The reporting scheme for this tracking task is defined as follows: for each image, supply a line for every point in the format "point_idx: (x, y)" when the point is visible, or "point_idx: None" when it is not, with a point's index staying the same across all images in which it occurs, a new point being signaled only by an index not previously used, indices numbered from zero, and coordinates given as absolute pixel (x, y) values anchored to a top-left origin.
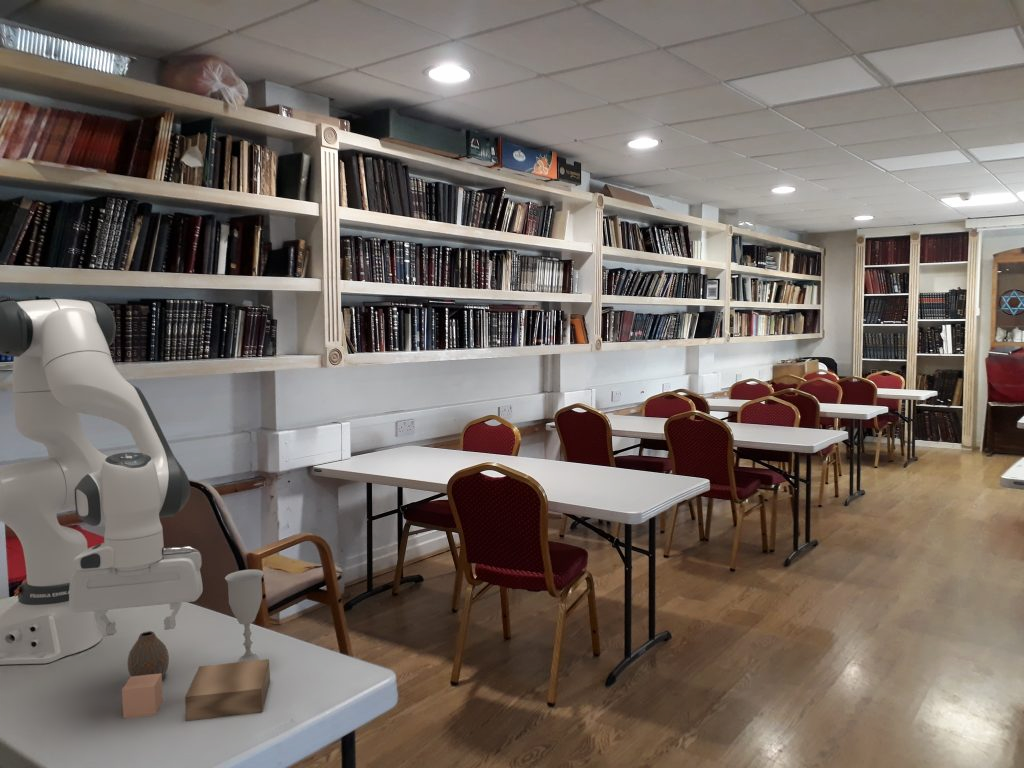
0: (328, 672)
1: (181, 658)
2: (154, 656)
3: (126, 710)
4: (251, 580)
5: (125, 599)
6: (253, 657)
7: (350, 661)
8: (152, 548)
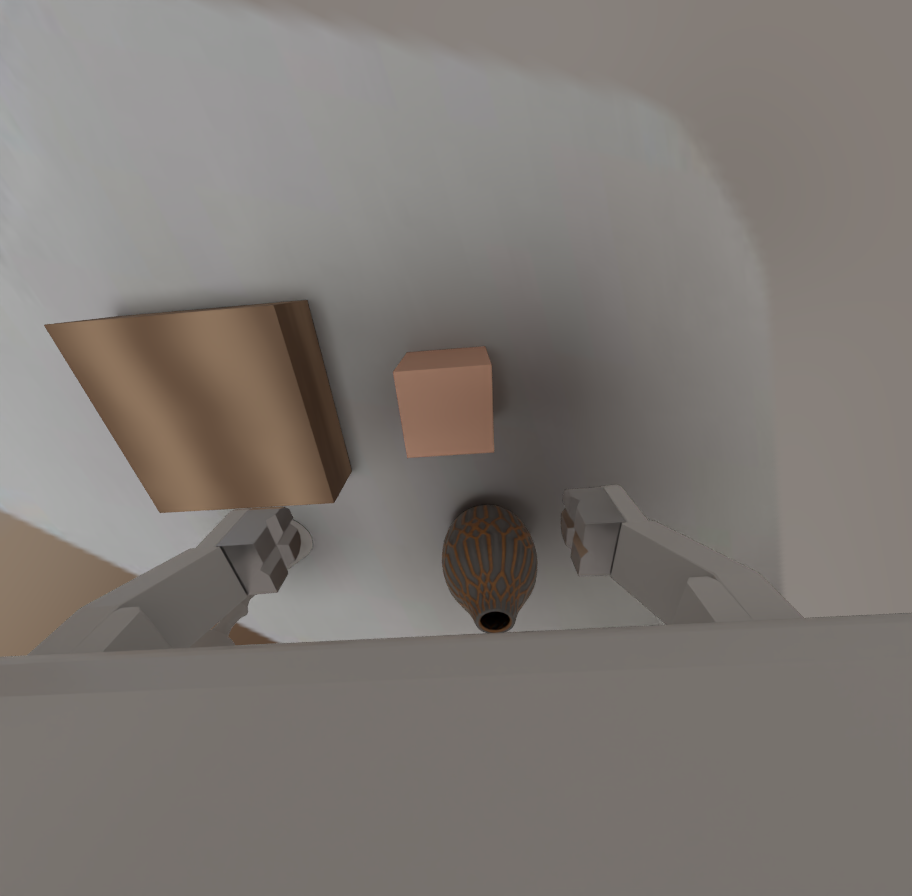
0: (83, 496)
1: (449, 597)
2: (463, 549)
3: (478, 351)
4: None
5: (495, 757)
6: None
7: (66, 535)
8: None
